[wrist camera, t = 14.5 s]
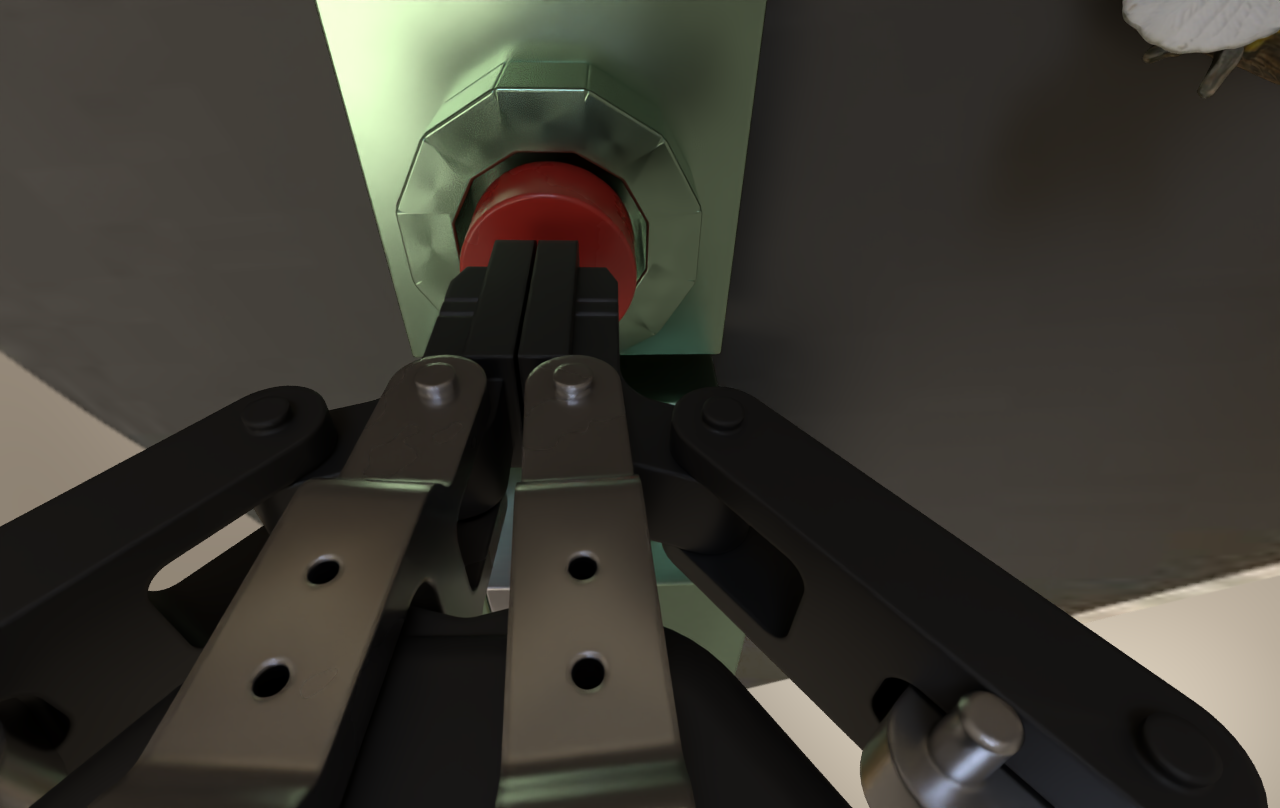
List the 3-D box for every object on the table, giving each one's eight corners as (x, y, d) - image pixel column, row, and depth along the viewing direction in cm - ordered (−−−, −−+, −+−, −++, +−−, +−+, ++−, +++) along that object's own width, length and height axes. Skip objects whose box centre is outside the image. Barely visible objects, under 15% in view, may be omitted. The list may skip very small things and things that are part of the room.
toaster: (439, 328, 21) (347, 592, 13) (705, 326, 21) (761, 581, 14) (495, 567, 30) (459, 803, 23) (680, 563, 30) (705, 793, 23)
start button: (459, 158, 13) (442, 193, 11) (635, 159, 13) (638, 194, 12) (485, 308, 15) (473, 351, 14) (633, 307, 15) (635, 349, 14)
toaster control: (355, -34, 14) (266, 5, 10) (743, -27, 15) (792, 12, 11) (433, 302, 20) (394, 404, 16) (708, 301, 21) (731, 399, 17)
